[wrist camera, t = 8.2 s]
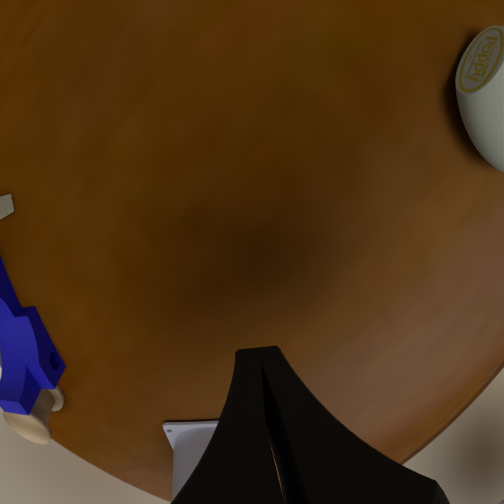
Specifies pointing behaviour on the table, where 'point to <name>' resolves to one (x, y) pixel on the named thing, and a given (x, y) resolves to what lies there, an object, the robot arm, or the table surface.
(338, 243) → the table surface
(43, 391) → the bobbin
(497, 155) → the air freshener
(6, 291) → the blue curved block
